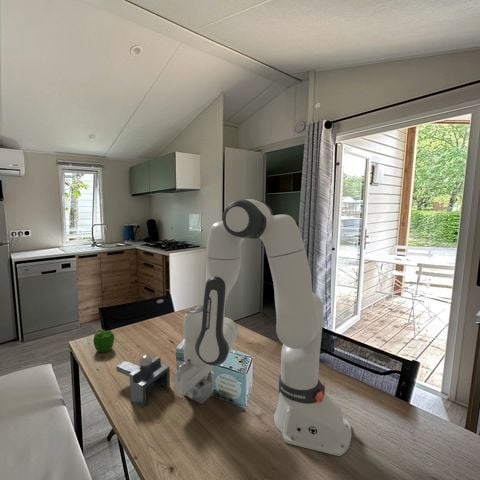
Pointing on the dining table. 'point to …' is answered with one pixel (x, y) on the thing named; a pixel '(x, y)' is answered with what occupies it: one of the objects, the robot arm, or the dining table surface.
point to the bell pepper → (103, 340)
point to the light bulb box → (180, 354)
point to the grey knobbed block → (201, 391)
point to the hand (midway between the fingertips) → (197, 391)
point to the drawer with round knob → (145, 377)
